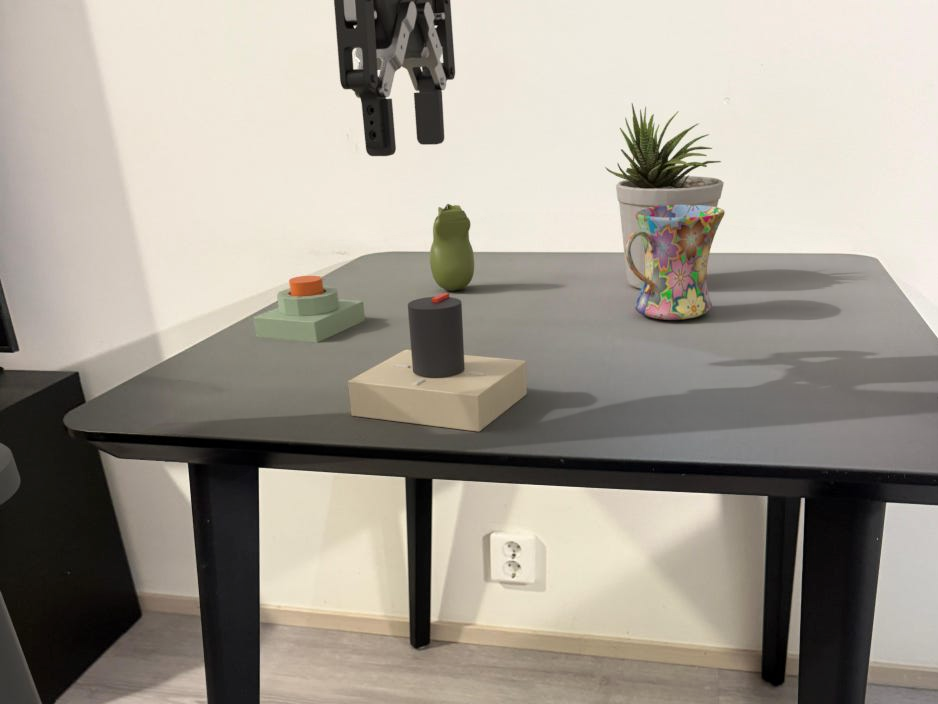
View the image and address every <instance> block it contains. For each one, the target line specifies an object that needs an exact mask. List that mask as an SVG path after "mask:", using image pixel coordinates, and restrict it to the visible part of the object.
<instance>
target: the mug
mask: <svg viewBox="0 0 938 704" xmlns="http://www.w3.org/2000/svg"><path fill="white" fill-rule="evenodd" d="M635 217H636V219H637V222H638V225H639V228H640V231H637V232H634V233H632V234H631V235H630V236H629V238H628V239H627V241H626V244H625V255H624V257H625V256H626V260H627V263H628V265H629V267H630V269H631V270H632V272H633V273H634V274H635V275H636V276H637V277H638V278H639V279H640V280H642V281H643V284H642V288H641V289H640V291H639V294H638V296H637V299H636V300H635V302H634V305H633V306H634V309H635V311H636V312H637V313H638V314H641V315H643V316H645V317H648V318H652V319H657V320H663V321H682V320H689V319H693V318H698V317H701V316H703V315H705V314H707V313H708V312H710V311H711V310H712V307H713V303H712V301H711V298H710V294H709V290H708V278H707V274H708V262H709V257H710V253H711V248H712V245H713V242H714V239H715V236H716V234H717V231H718V229H719V226H720V225H721V222H722V220H723V219H724V217H725V210H724V209H723V208H721V207H718V206H717V207H712V206H704V205H664V206H654V207H647V208H643V209H640V210H637V211H636V213H635ZM640 235H641V236H642V241H643V246H644V257H645V269H644V276H643V275H642V274H641V273H640V272H639V271H638V270H637V268H636V267H635V265H634V263H633V260H632V256H631V245H632V242H633V240H634V239H635V238H636V237H637V236H640Z"/></svg>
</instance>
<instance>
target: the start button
mask: <svg viewBox="0 0 938 704" xmlns="http://www.w3.org/2000/svg"><path fill="white" fill-rule="evenodd" d="M288 282H289V288H290V292H291V296H313V295H319V294H322V293H324V290H323V286H324V284H323V277H322V276H320V275H300V276H295V277H292V278H290V279H289V280H288Z"/></svg>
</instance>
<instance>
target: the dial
mask: <svg viewBox="0 0 938 704" xmlns="http://www.w3.org/2000/svg"><path fill="white" fill-rule="evenodd" d="M462 304H463V303H462V300H461V299H460V298H456V297H451V296H450V293H449V292H442V293H440V294H438V295H436V296H428V297H421V298H417V299H413V300H411V301H409V302H408V303H407V313H408V325H409V339H410V350H411V354H412V367H413V372H414V374H416V375H418V376H422V377H431V378H438V377H448V376H453V375H456V374H459V373H461V372H463V371H464V369H465V366H464V355H465V349H464V347H465V346H464V327H463V306H462Z"/></svg>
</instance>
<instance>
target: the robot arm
mask: <svg viewBox="0 0 938 704" xmlns="http://www.w3.org/2000/svg"><path fill="white" fill-rule="evenodd" d="M333 7H334V18H335V20H334V21H335V31H336V32H335V33H336V43H337V44H336V45H337V58H338V59H337V60H338V69H339V70H338V71H339V82H340V85H341V87H342V89H343V90H351V91H353V92H354V95H355V96H356V98H358V99H360V103H361V111H362V112H361V113H362V122H363V133H364V142H365V143H364V145H365V151H366V153H367V154H368V156H370V157H389V156H393V155H394V154H395V153H396V150H397V146H396V145H397V144H396V132H395V121H394V119H395V118H394V108H393V107H394V106H393V99H392V98H389V97H390V95H391V92H392V88H393V83H394V78H395V74H396V72H397V71H398V70H400V69H401V68H404V69H405V70H406V71H407V72H408V76H409V79H410V81H411V83H412V86H413V89H414V90H415V91H416V92H413V101H414V111H415V112H414V114H415V115H414V117H415V130H416V140H417V142H418V144H419V145H423V146H424V145H425V146H426V145H430V146H431V145H440V144H443V142H444V141H445V124H444V123H445V122H444V104H443V91H445V90H446V88H447V81H450V80H454V79H455V78H456V77H455V76H456V66H455V65H456V62H455V49H454V47H455V46H454V36H453V35H454V34H453V19H452V3H451V0H333ZM353 52H354V58H353ZM441 58H442V61H441ZM354 59H355V60H356V61H357V63H358V64H357V68H354ZM378 71H379V72H378Z"/></svg>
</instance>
